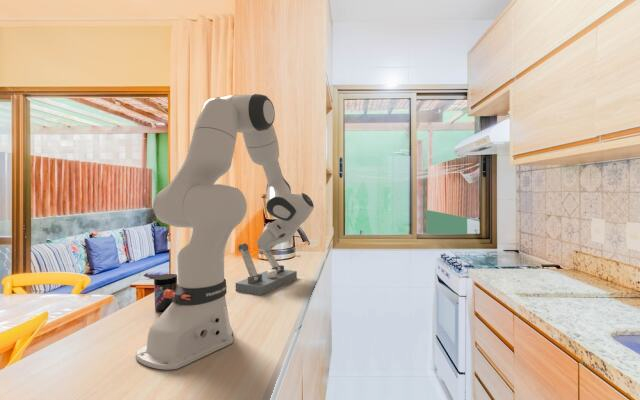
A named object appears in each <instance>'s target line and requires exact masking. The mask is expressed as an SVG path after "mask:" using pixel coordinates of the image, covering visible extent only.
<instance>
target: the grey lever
mask: <svg viewBox="0 0 640 400" xmlns="http://www.w3.org/2000/svg"><path fill="white" fill-rule="evenodd" d="M237 248H238V251H239V252H240V254H241V256H242V260H243V262H244V264H245V266H246V267H245V268H246V270H247V272H248V275H249V276H248V277H254V282H256V281H258V280H260V277H259V275H258V274H259V273H258V271H257V269H256V266H255V264H254V261H253V259H252V256H251V254H250V251H249V245H248V244H247V243H246V242H245V243H241V244H239V245H238V247H237Z"/></svg>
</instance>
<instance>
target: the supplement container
mask: <svg viewBox="0 0 640 400" xmlns="http://www.w3.org/2000/svg"><path fill="white" fill-rule="evenodd" d="M177 284H178V274H176V273H165V274H159V275H157V276H155V277H153V288H154V310H155V311H156V312H158V313H163V312H164V311H165V310H166V309H167V308H168V307H169V305H170V304H171V303H172V302H173V301H172V299H173V298H171V299H169V298H165V297H163V296H164V295H163V294H164V293H163V292H164V291H165V290H166V289H169V290H173V291H174V292H175V289H176V286H177Z"/></svg>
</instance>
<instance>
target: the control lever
mask: <svg viewBox="0 0 640 400" xmlns="http://www.w3.org/2000/svg"><path fill="white" fill-rule="evenodd" d="M257 247H258V249H259V250H261V252H262V254H263V255H264V256H265V258H266V260H267V261H268V263H269V265H270V266H271V268H278V272H280V271H282V267H281V266H279V265H280V264H279V263H278V261H277V259H276V257H275V256H274V255H273V253H272V252H271V250H268V251H266V250H265V249H264V248H263V249H262V248H261V247H260V246H259V245H258V244H257Z"/></svg>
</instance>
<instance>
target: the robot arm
mask: <svg viewBox="0 0 640 400" xmlns="http://www.w3.org/2000/svg"><path fill="white" fill-rule="evenodd" d="M274 106H275V105H274V104H273V102H272V100H271V99H270V98H269V97H268V96H267V95H264V94H259V93H254V94H232V95H225V96H222V97H221V96H219V97H213V98H209V99H208V100H206V101H205V103H204V104H203V105H202V107H201V109H200V112H199V114H198V117H197V120H196V121H195V125H194V129H193V132H192V135H191V136H192V137H191V141H190V144H189V147H188V151H187V154H186V157H185V159H184V162H183V163H182V166H181V167H180V169H179V171H178V172H177V174H176V175H175V176H174V178H173V179H172V180H171V181H170V182H169V184H168V185H166V186H165V187H164V188H162V189H161V190H160V191H159V192H158V193H157V194H155V195H156V196H155V197H154V200H153V203H152V208H153V214H154V215H155V217H156V218H157V220H158V221H159V222H161V223H162V224H166V225H169V226H172V227H176V228H189V229H190V228H191V229H192V233H191V237H190V240H189V242H188V244H186V245H185V246H184V247H182V248H181V249H180V250H179V252H178V254H177V286H176V289H175V292H174V291H173V290H169V289H166V290H165V291H164V292H163V293H164V294H163V295H164V296H163V297H165V298H169V299H171V298H173V299H172V301H173V302H172V303H171V304H170V305H169V307H168V308H167V309H166V310H165V311H164V312H161V315H159V317H158V318H157V319H156V320H155V321H154V322H153V323H152V324H151V326H150V327H149V330H148V333H147V339H146V340H147V341H146V344H145V345H144V346H142V347H140V348H138V349H137V350H136V352H135V353H136V354H135V359H136V360H137V362H139V363H140V364H142V365H144V366H146V367H150V368H153V369H156V370H164V371H165V370H166V371H167V370H169V371H170V370H177V369H180V368H182V367H184V366H186V365H188V364H190V363H193V362H194V361H198V360H199V359H202V358H204V357H205V356H207V355H210V354H212V353H214V352H216V351H218V350H221V349H223V348H225V347H227V346H229V345H232V343H234V339H233V336H232V334H233V329H232V327H231V322H230V318H229V312H228V306H227V299H226V294H227V288H228V287H227V280H226V278H225V252H226V247H227V243H228V239H229V238H230V235H231V234H232V232H233V231H234V229H235V228H237V226H239V225H240V224H241V223H242V222H243V220H244V218H245V216H246V214H247V207H248V204H247V203H248V202H247V199H246V197H245V195H244V192H242V191H241V189H239V188H238V187H236V186H235V187H234V186H230V185H226V184H222V183H221V184H219V183H218V184H215V183H216V182H217V181H218V180H219V179H220V178H221V177H222V176H224V175H225V174H227V173H228V171H229V170H230V169H231V166H232V162H233V158H234V157H233V156H234V152H235V147H236V143H237V136H238V133H241V134H242V137H243V141H244V143H245V144H244V145H245V148H246V150H247V153H248V155H249V157H250V159H251V161H252V162H253V163H254V164H256V165H259V166H261V167H262V168H263V170H264V171H263V172H264V173H265V177H266V180H267V185H266V190H265V191H266V199H265V200H266V202H265V203H266V205H265V207H266V211H267V213H268V214H269V215H270V216H271V217H273V218H277V219H276V220H274V221H271V222H270V223H268V224H267V225H266V229H265V230H264V231H263V232H262V233H261V235H260V236H259V237H258V238H257V241H256V243H257V246H258V245H259V246H260V247H261V248H262V249H263V248H264V249H265V250H266V251H268V250H270V251H271V250H272V249H273V248H274V247H276V246H277V245H280V244H284V243H287V242H289V241H291V239H292V238H293V237H294V236H295V235H296V232H297V231H298V230H299V229H300V227H301V225H302V224H303V223H305V222H306V221H307V219H308V218H309V217H310V215H311V214H312V212H313V211H314V208H315V207H314V203H313V200H312V199H311V197H310V196H309V195H307V194H306V193H303V192H302V193H297V194H296V193H292V192H291V191H292V190H291V189H292V188H291V186H290V184H289V182H288V181H287V180H286V179H285V178H284V176H283V173H282V169H281V166H280V163H279V157H280V148H279V147H280V146H279V142H278V141H279V140H278V136H277V133H276V130H275V127H274V125H273V124H274V121H275V117H276V115H275V114H276V111H275V107H274Z"/></svg>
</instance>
